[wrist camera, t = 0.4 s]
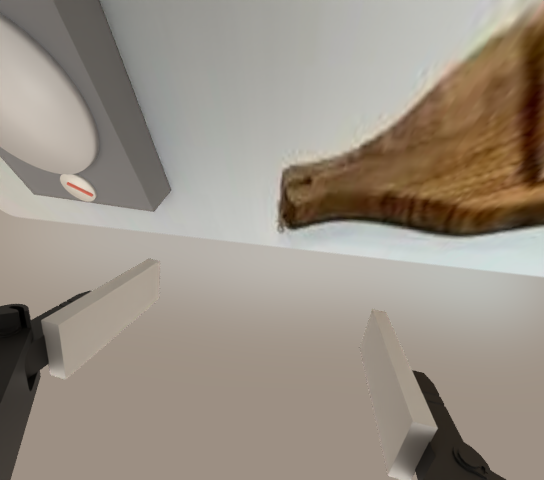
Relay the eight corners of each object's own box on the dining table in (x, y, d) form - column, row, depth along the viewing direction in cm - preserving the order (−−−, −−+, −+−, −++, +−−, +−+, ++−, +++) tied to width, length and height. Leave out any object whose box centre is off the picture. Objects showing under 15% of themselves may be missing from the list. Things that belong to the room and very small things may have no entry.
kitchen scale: (-88, -22, 20) (-175, -17, 17) (90, -24, 17) (29, -19, 14) (59, 175, 33) (27, 199, 30) (171, 190, 31) (149, 217, 28)
